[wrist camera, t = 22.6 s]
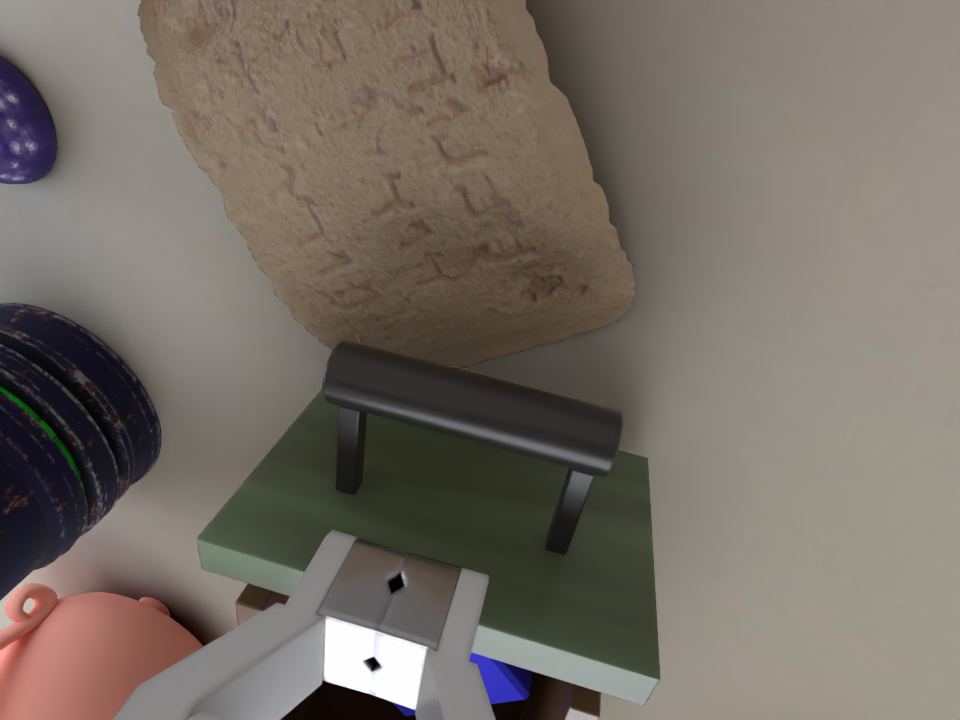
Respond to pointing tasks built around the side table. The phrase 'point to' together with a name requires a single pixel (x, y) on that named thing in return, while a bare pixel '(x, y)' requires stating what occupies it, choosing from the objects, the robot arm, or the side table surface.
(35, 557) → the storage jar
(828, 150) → the side table surface
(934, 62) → the side table surface
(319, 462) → the drawer
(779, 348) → the side table surface
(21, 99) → the toy lamp
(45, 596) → the sugar bowl
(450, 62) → the clay tablet
